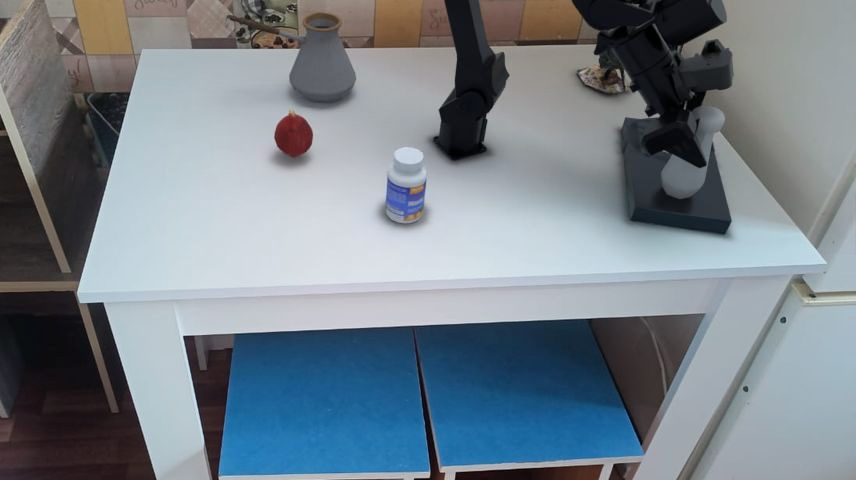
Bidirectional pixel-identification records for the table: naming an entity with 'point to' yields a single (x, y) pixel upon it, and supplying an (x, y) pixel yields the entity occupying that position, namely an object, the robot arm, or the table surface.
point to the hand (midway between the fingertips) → (705, 154)
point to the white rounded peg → (682, 175)
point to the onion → (293, 135)
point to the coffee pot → (316, 58)
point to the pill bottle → (406, 186)
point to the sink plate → (651, 199)
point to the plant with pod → (605, 74)
